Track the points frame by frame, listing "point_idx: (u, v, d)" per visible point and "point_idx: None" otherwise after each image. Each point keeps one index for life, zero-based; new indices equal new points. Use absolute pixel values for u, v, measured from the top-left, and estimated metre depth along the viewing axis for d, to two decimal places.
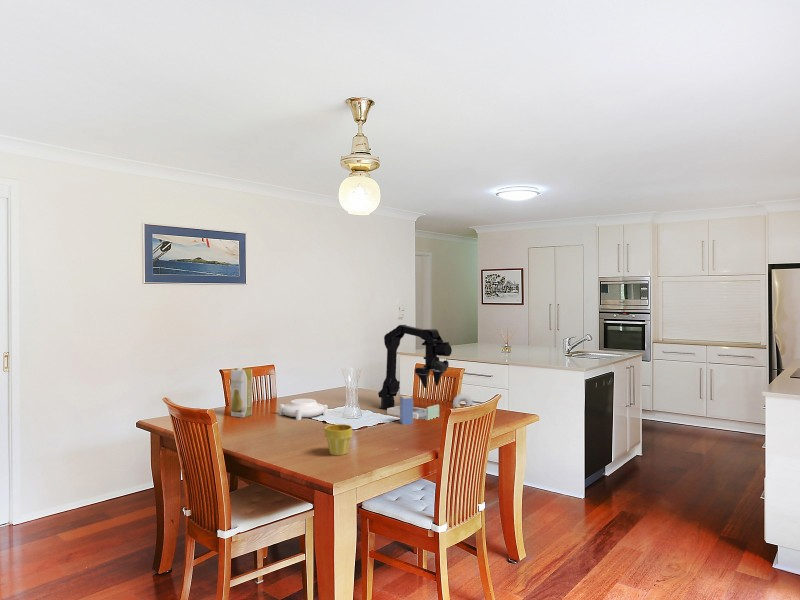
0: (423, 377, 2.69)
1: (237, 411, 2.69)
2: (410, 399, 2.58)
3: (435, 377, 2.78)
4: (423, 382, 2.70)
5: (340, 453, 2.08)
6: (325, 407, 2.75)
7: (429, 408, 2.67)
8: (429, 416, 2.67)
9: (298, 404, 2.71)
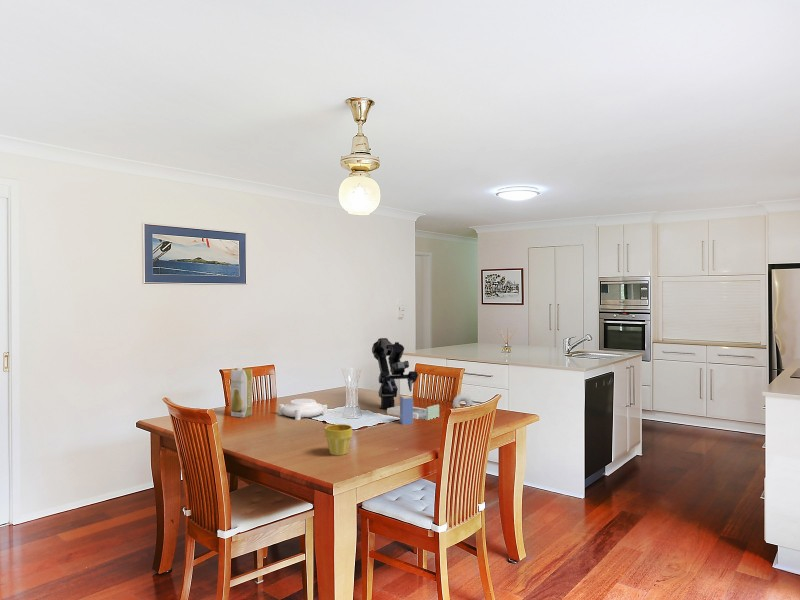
0: (387, 383, 2.69)
1: (237, 411, 2.69)
2: (410, 399, 2.58)
3: (409, 385, 2.72)
4: (389, 387, 2.68)
5: (340, 453, 2.08)
6: (325, 407, 2.75)
7: (429, 408, 2.67)
8: (429, 416, 2.67)
9: (297, 404, 2.71)
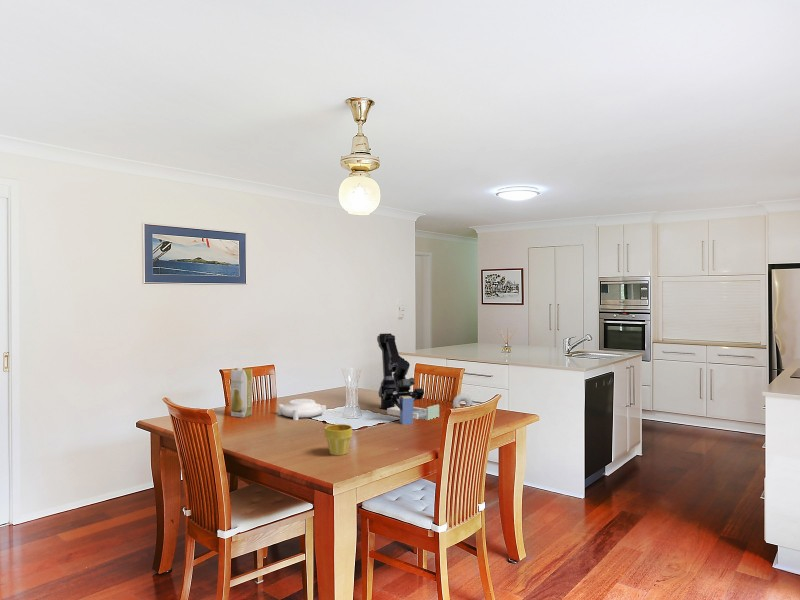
0: (397, 400, 2.61)
1: (237, 411, 2.69)
2: (410, 399, 2.58)
3: None
4: (398, 405, 2.59)
5: (340, 453, 2.08)
6: (323, 408, 2.74)
7: (429, 408, 2.67)
8: (429, 416, 2.67)
9: (296, 404, 2.70)
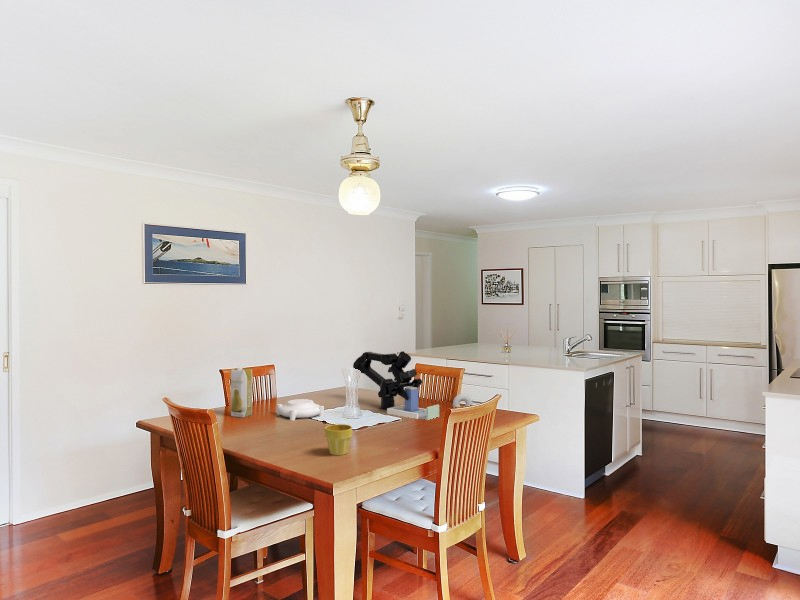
0: (401, 391, 2.77)
1: (237, 411, 2.69)
2: (416, 389, 2.77)
3: None
4: (403, 395, 2.76)
5: (340, 453, 2.08)
6: (321, 408, 2.73)
7: (429, 408, 2.67)
8: (429, 416, 2.67)
9: (293, 404, 2.70)
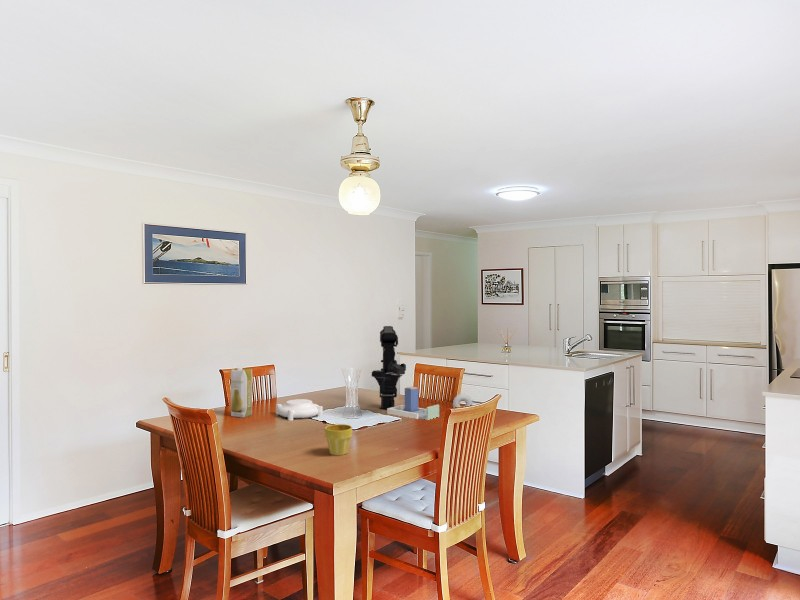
0: (380, 380, 2.67)
1: (237, 411, 2.69)
2: (416, 389, 2.77)
3: (392, 381, 2.75)
4: (380, 385, 2.67)
5: (340, 453, 2.08)
6: (320, 408, 2.72)
7: (429, 408, 2.67)
8: (429, 416, 2.67)
9: (292, 405, 2.69)
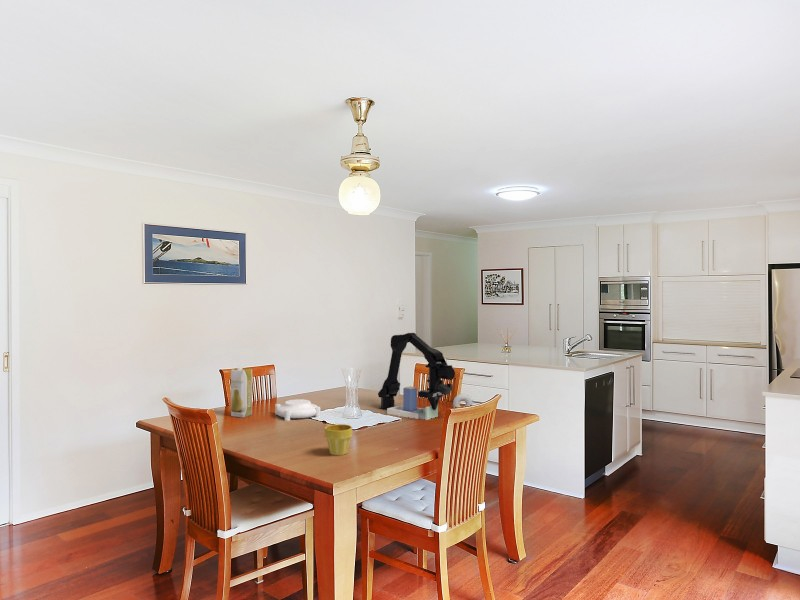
0: (432, 399, 2.68)
1: (237, 411, 2.69)
2: (415, 389, 2.77)
3: None
4: (432, 404, 2.68)
5: (340, 453, 2.08)
6: (317, 409, 2.70)
7: (428, 408, 2.67)
8: (428, 416, 2.67)
9: (289, 405, 2.69)
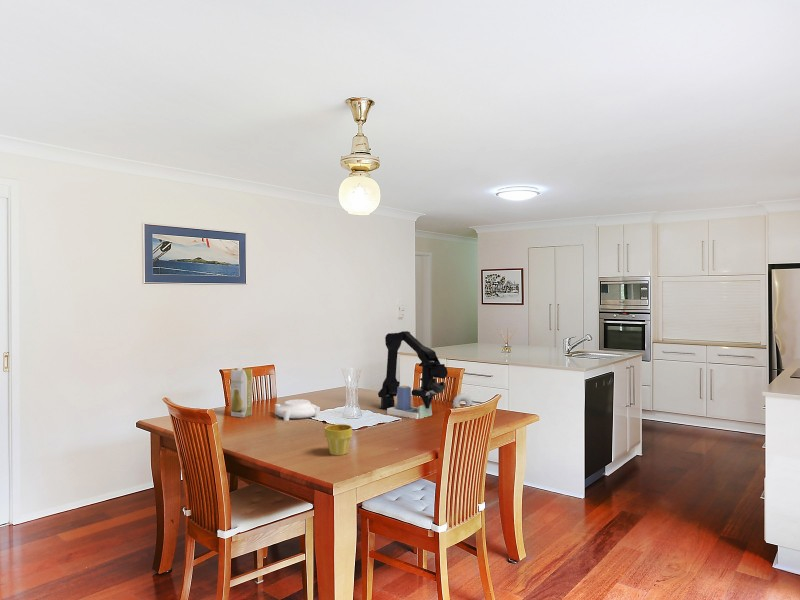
0: (425, 398, 2.71)
1: (237, 411, 2.69)
2: (409, 388, 2.80)
3: None
4: (425, 402, 2.71)
5: (340, 453, 2.08)
6: (317, 409, 2.70)
7: (421, 407, 2.70)
8: (421, 415, 2.70)
9: (289, 405, 2.69)
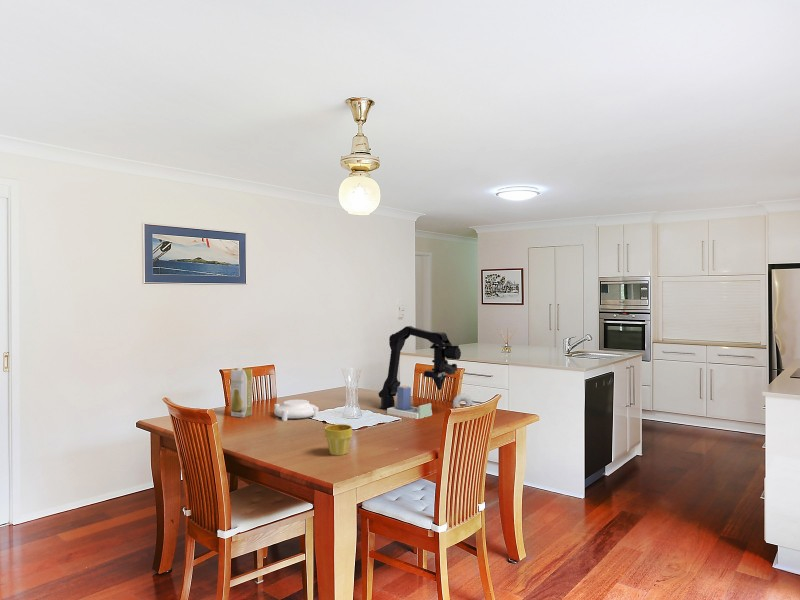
0: (437, 379, 2.73)
1: (237, 411, 2.69)
2: (409, 388, 2.80)
3: None
4: (437, 384, 2.74)
5: (340, 453, 2.08)
6: (315, 409, 2.69)
7: (421, 407, 2.70)
8: (421, 415, 2.70)
9: (287, 405, 2.69)
